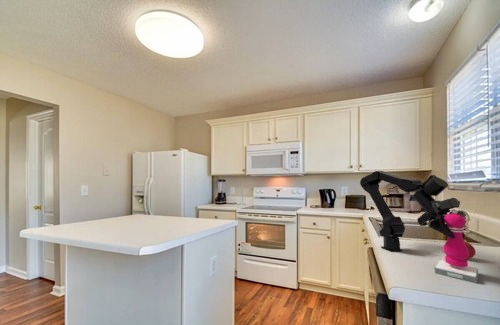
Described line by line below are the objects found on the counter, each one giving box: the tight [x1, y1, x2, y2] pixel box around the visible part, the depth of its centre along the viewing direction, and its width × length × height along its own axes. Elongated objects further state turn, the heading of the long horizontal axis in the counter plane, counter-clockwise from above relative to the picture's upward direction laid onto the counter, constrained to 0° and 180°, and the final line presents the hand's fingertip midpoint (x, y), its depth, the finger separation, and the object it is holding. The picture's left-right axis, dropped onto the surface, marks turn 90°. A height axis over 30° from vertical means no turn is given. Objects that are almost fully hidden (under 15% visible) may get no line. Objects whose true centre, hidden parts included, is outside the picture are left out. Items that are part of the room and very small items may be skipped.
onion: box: [463, 239, 477, 260], centre depth 100 cm, size 6×6×8 cm
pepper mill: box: [442, 208, 469, 267], centre depth 86 cm, size 7×7×20 cm
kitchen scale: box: [434, 259, 479, 284], centre depth 85 cm, size 11×11×2 cm
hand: (459, 237), depth 84 cm, fingers closed on pepper mill, 5 cm apart
